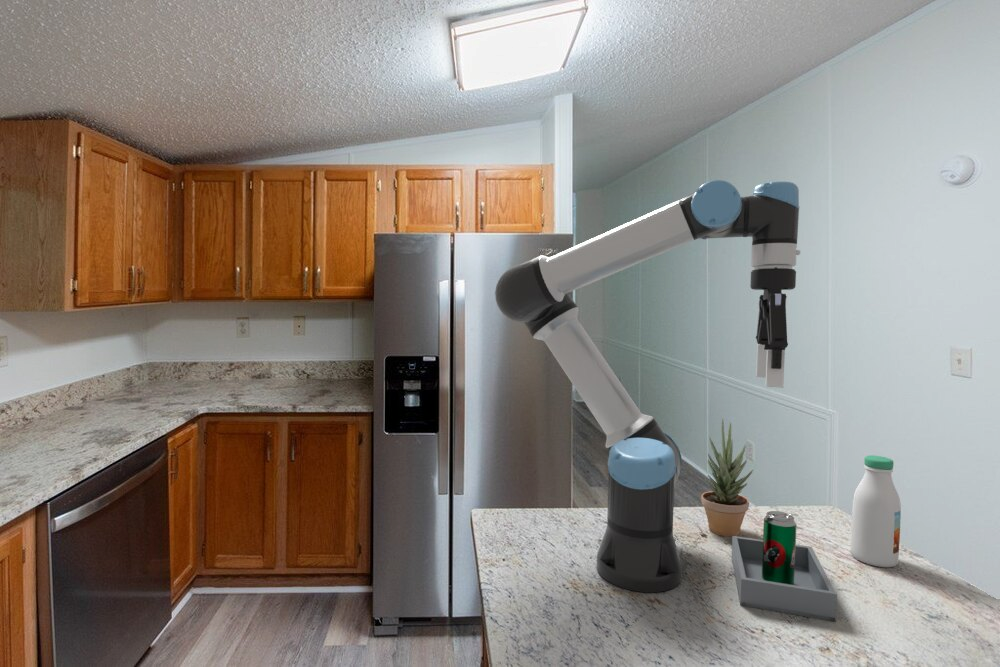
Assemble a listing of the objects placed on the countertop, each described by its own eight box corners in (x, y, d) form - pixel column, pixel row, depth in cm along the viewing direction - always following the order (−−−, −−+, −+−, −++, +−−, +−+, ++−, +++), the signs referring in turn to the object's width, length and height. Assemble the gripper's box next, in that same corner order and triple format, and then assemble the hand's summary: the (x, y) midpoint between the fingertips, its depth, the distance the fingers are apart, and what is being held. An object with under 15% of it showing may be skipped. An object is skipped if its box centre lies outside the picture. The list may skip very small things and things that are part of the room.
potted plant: (719, 518, 125) (723, 412, 124) (757, 534, 117) (761, 420, 115) (689, 527, 120) (693, 416, 118) (726, 544, 112) (731, 425, 110)
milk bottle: (884, 572, 101) (889, 466, 100) (841, 554, 107) (846, 455, 106) (906, 563, 104) (912, 460, 103) (864, 547, 111) (869, 450, 110)
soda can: (798, 591, 92) (801, 522, 92) (766, 588, 93) (768, 519, 92) (788, 577, 97) (791, 511, 96) (758, 574, 98) (760, 508, 97)
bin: (740, 605, 89) (741, 579, 89) (731, 557, 106) (732, 535, 105) (835, 621, 85) (836, 594, 84) (810, 569, 101) (811, 546, 101)
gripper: (810, 263, 88) (805, 393, 89) (784, 272, 111) (779, 374, 113) (759, 263, 90) (754, 390, 91) (744, 272, 114) (740, 372, 115)
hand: (768, 382), depth 102 cm, fingers open, 13 cm apart
